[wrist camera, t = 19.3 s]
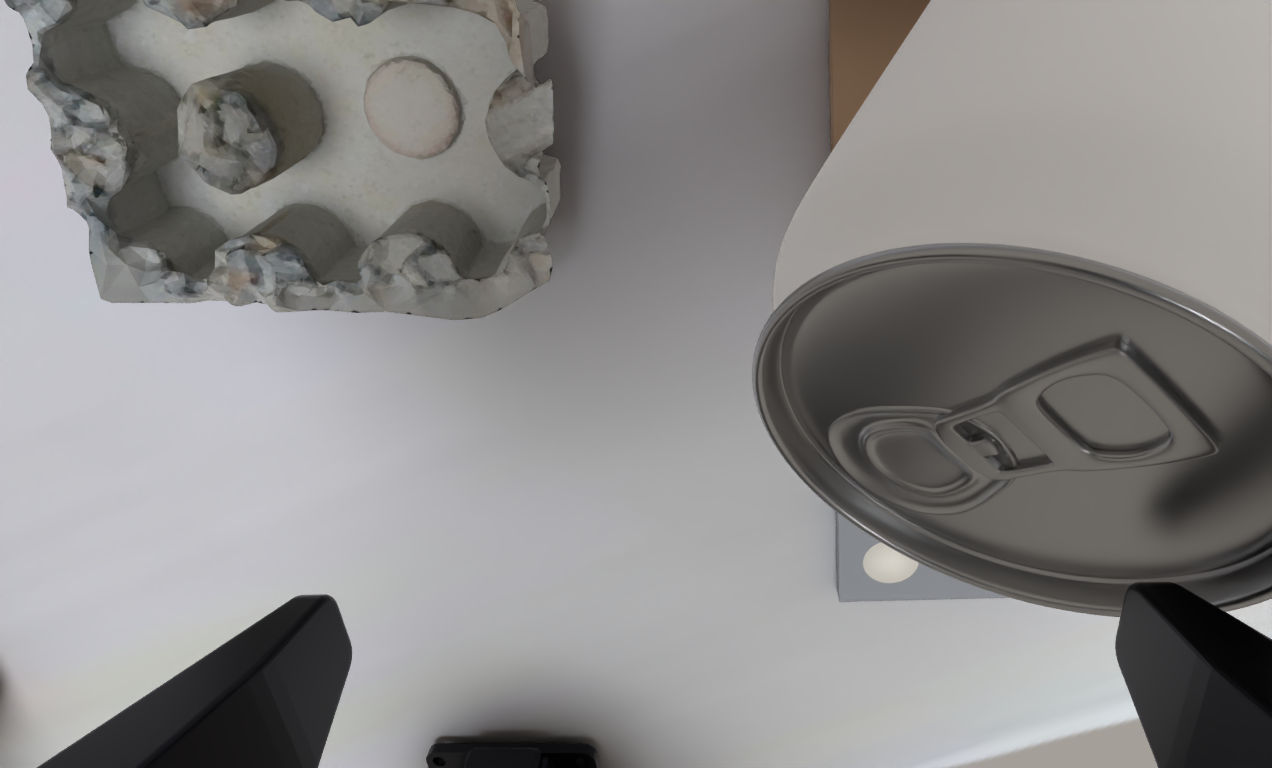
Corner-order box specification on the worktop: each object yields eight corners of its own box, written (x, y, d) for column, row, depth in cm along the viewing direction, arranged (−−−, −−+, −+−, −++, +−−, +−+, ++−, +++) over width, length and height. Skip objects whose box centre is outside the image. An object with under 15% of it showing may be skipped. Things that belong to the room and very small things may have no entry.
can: (920, -45, 16) (630, 358, 10) (1273, -399, 11) (1077, 39, 5) (1120, 169, 17) (960, 642, 11) (1533, -53, 12) (1630, 646, 6)
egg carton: (563, -61, 16) (528, -54, 13) (571, 269, 20) (545, 343, 17) (75, -74, 17) (-85, -72, 13) (174, 251, 21) (69, 320, 17)
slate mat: (1182, 578, 23) (1193, 593, 23) (836, 588, 25) (839, 602, 24) (1260, 254, 19) (1276, 262, 18) (832, 289, 20) (835, 298, 20)
